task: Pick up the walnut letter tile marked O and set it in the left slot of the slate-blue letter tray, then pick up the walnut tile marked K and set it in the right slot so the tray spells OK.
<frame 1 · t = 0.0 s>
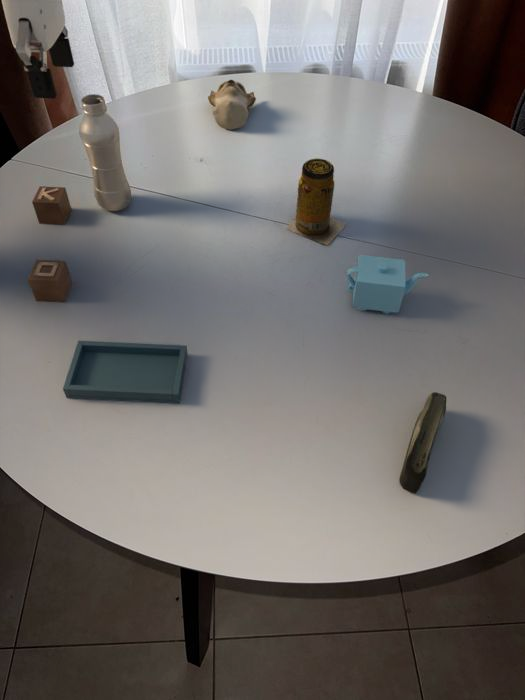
hand: (55, 81, 86), 25 cm above the table, tool pointing down, fingers open, 9 cm apart
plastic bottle: (115, 205, 107), on the table
ceramic sculpture: (231, 118, 128), on the table
teapot: (380, 302, 92), on the table
letter tray: (128, 375, 82), on the table
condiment: (315, 228, 104), on the table
mobile phone: (420, 445, 76), on the table
tile O: (54, 291, 92), on the table
tile K: (55, 216, 105), on the table
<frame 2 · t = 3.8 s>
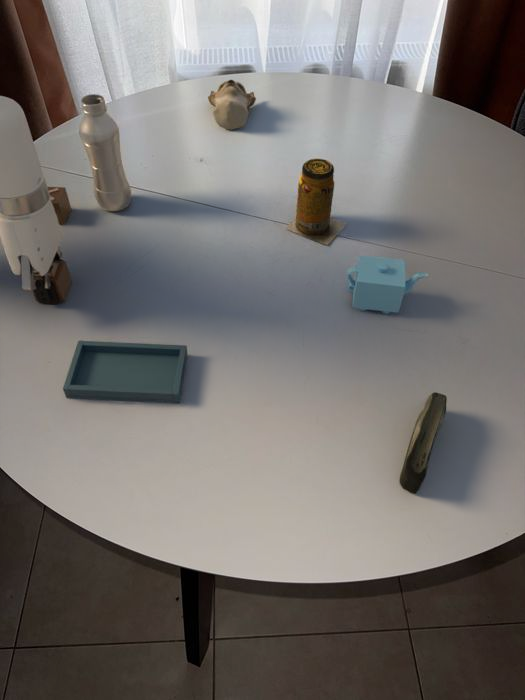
hand: (53, 289, 92), 0 cm above the table, tool pointing down, fingers closed on tile O, 4 cm apart
tile O: (54, 291, 92), on the table, touching gripper
everything else where it was.
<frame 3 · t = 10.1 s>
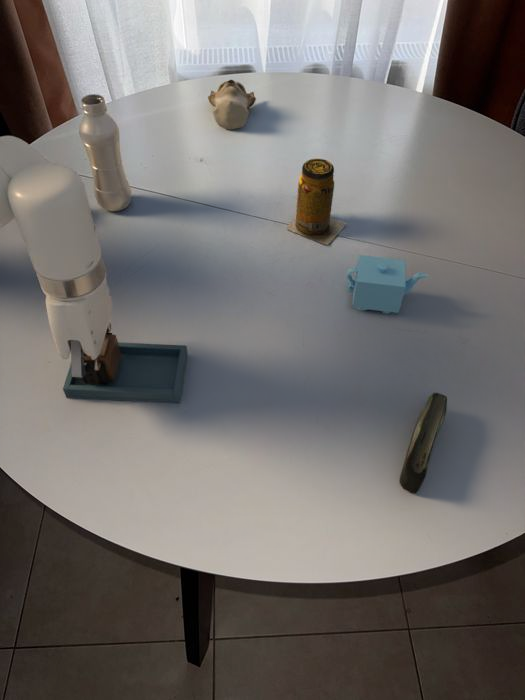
hand: (101, 366, 81), 2 cm above the table, tool pointing down, fingers closed on tile O, 4 cm apart
tile O: (101, 367, 81), point 1 cm above the table, touching gripper
everything else where it was.
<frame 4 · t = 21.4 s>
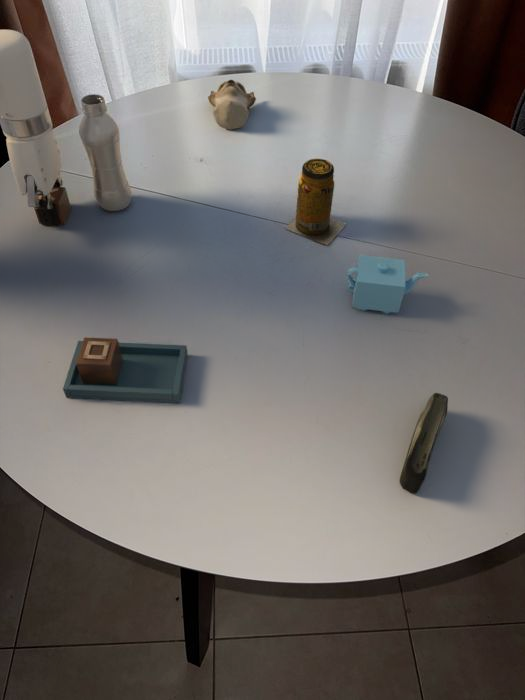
hand: (55, 214, 104), 0 cm above the table, tool pointing down, fingers closed on tile K, 4 cm apart
tile O: (103, 371, 81), point 1 cm above the table, touching letter tray
tile K: (55, 216, 105), on the table, touching gripper
everything else where it was.
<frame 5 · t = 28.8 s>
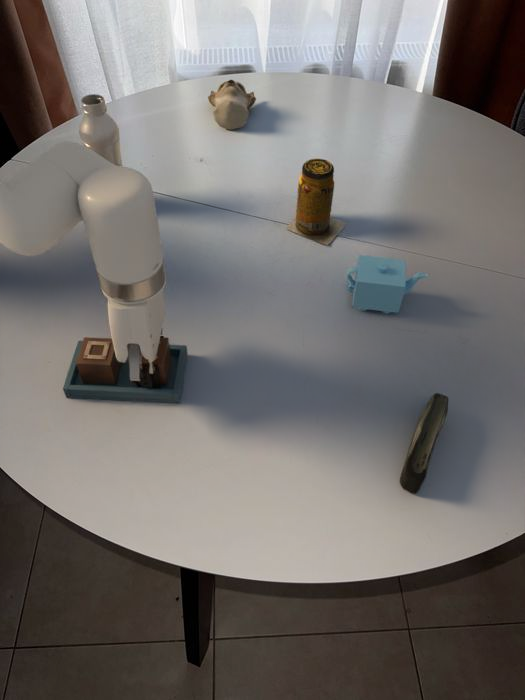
hand: (151, 369, 81), 2 cm above the table, tool pointing down, fingers closed on tile K, 4 cm apart
tile K: (152, 370, 81), point 1 cm above the table, touching gripper
everything else where it was.
when the fingers open (3 cm above the table, at t = 34.1 s): tile K drops 2 cm, resting on letter tray.
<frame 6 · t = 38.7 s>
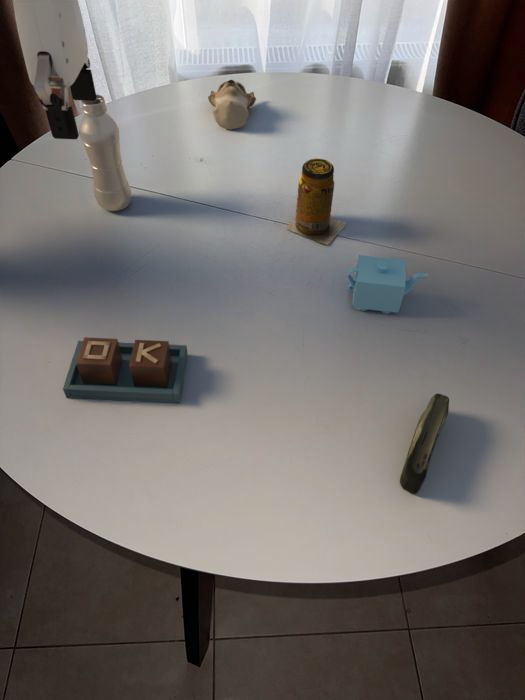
hand: (75, 117, 76), 26 cm above the table, tool pointing down, fingers open, 9 cm apart
tile K: (153, 374, 81), point 1 cm above the table, touching letter tray
everything else where it was.
at the end: tile O 0.0 cm from the target spot in the letter tray, point 0.6 cm above the letter tray's base; tile K 0.0 cm from the target spot in the letter tray, point 0.6 cm above the letter tray's base; tile K tilted 0° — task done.
